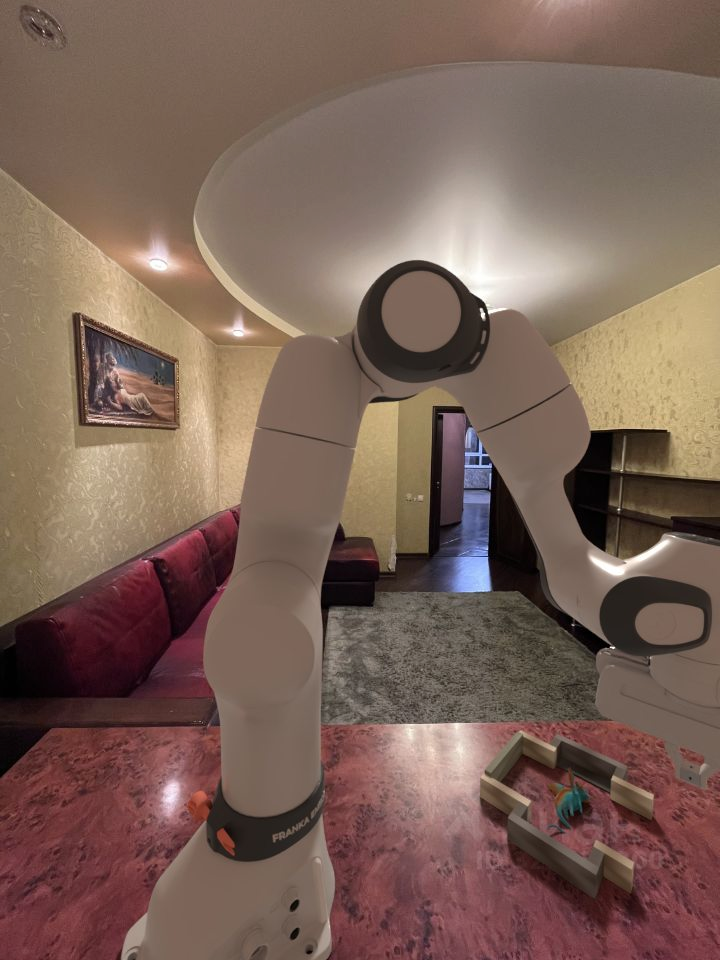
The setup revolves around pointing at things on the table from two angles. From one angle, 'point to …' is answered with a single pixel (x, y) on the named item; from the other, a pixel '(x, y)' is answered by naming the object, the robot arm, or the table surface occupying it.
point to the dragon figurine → (568, 799)
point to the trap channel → (542, 845)
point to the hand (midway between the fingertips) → (690, 781)
